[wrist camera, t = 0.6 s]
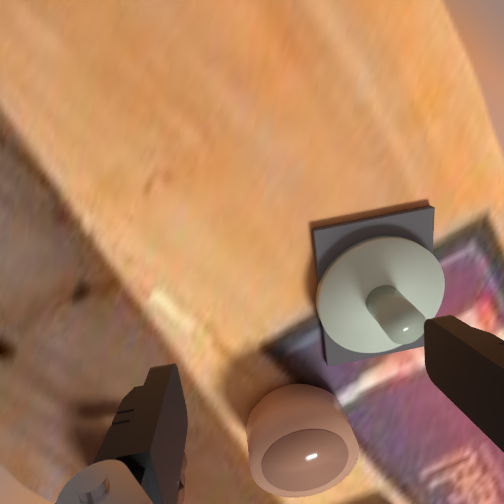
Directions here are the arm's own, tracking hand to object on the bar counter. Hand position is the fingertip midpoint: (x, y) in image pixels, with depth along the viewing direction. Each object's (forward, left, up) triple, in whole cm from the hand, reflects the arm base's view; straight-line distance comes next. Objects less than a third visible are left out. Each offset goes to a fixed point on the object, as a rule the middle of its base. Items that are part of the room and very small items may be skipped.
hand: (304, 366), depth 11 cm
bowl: (+22, +1, -17) cm, 28 cm away
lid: (+9, +10, -17) cm, 22 cm away
